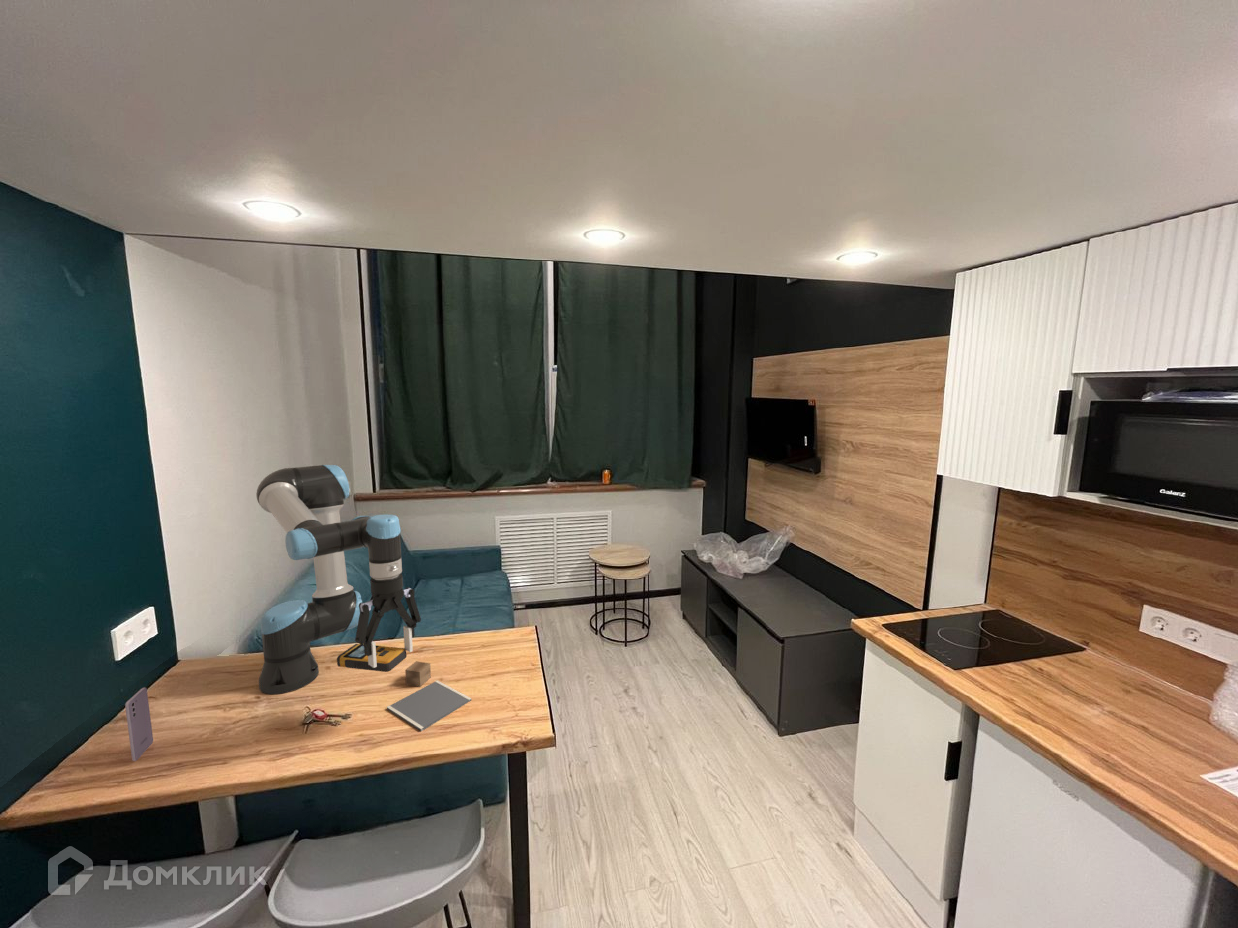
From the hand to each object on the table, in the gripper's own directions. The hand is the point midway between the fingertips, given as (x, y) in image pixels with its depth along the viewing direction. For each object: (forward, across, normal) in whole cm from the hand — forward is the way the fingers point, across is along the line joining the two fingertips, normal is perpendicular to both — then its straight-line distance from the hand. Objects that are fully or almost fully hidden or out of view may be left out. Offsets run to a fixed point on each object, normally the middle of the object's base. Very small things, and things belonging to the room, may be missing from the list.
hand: (391, 657), depth 129 cm
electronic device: (+4, +1, -1) cm, 4 cm away
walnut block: (+18, +14, +12) cm, 25 cm away
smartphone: (+18, -43, +37) cm, 59 cm away
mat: (+18, +9, -2) cm, 20 cm away
